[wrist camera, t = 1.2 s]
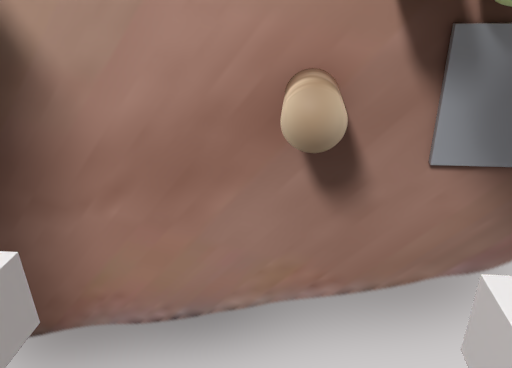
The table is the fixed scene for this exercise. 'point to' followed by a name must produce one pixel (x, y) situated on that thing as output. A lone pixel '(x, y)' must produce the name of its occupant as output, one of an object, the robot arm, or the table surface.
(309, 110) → the cork
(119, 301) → the table surface
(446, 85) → the coaster
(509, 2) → the lime
